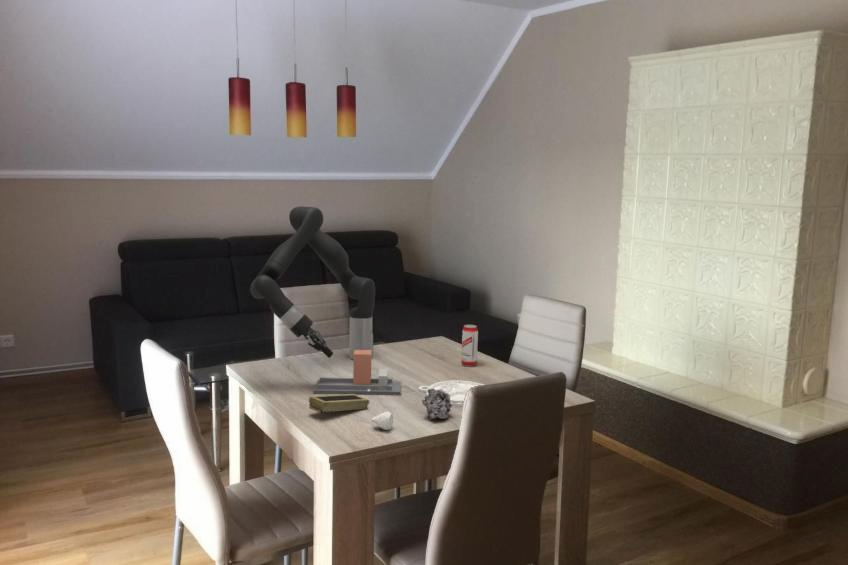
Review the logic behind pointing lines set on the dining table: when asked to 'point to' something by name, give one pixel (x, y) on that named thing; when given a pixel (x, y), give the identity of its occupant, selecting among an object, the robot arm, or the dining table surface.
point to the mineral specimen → (437, 404)
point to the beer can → (469, 345)
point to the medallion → (452, 390)
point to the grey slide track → (359, 386)
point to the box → (337, 402)
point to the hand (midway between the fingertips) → (331, 355)
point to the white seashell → (384, 420)
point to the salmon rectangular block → (362, 367)
